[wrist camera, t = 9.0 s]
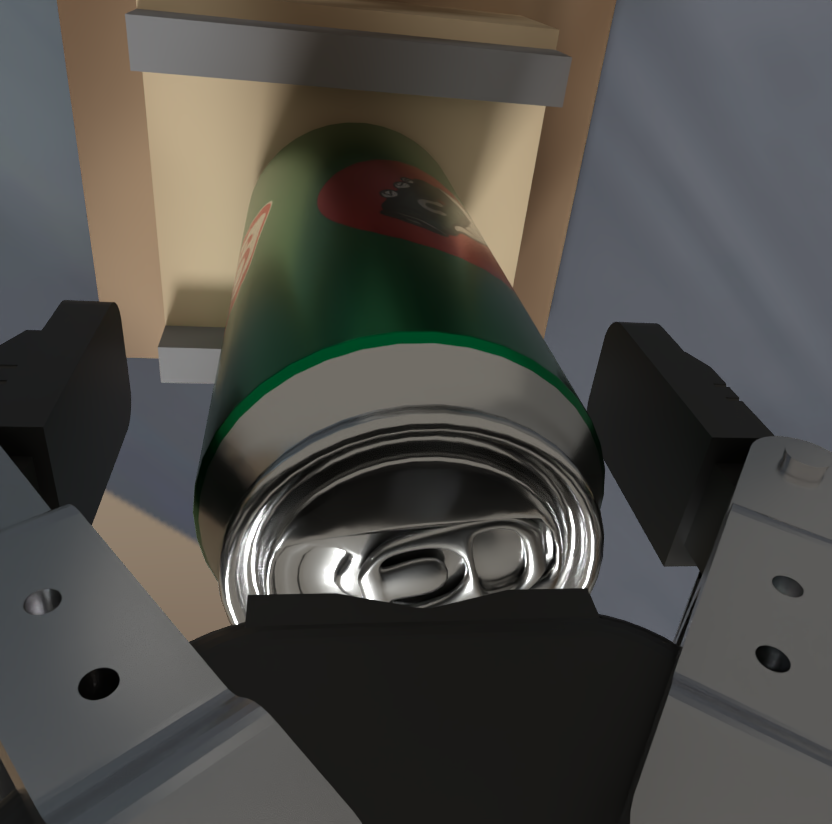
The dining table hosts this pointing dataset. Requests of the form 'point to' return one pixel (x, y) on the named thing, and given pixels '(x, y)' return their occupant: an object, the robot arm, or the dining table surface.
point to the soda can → (386, 398)
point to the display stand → (307, 110)
